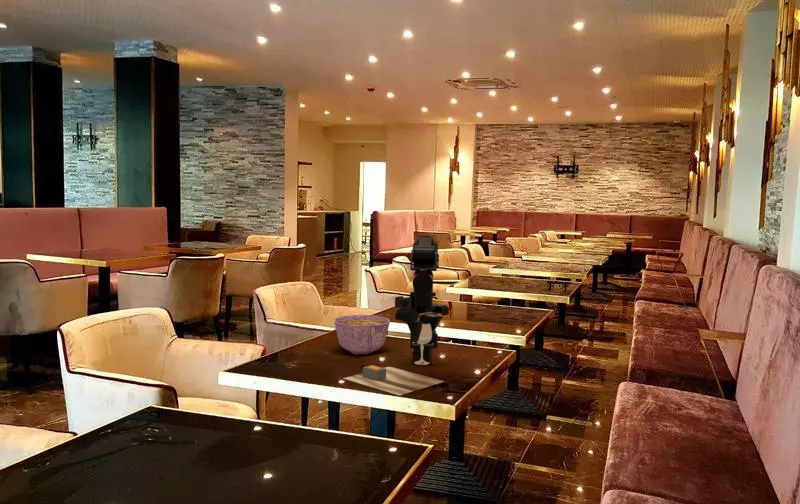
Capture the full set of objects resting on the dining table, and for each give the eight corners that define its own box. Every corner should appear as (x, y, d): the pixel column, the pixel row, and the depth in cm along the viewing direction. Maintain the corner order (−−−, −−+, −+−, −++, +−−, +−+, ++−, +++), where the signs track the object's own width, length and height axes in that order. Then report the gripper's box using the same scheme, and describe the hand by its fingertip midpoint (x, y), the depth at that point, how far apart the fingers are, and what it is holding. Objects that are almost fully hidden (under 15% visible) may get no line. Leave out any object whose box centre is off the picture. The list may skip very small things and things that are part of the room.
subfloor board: (388, 369, 211) (389, 366, 211) (444, 384, 196) (444, 381, 196) (343, 381, 197) (343, 378, 196) (399, 398, 181) (399, 395, 181)
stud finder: (372, 374, 201) (372, 364, 201) (386, 378, 197) (386, 368, 197) (362, 376, 198) (362, 366, 198) (376, 381, 194) (376, 370, 194)
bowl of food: (388, 359, 224) (389, 326, 223) (330, 358, 224) (330, 324, 223) (390, 346, 244) (390, 315, 243) (336, 344, 244) (337, 314, 243)
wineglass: (430, 365, 191) (431, 325, 190) (410, 364, 192) (411, 324, 191) (432, 361, 196) (433, 321, 196) (413, 360, 197) (414, 320, 196)
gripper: (422, 283, 205) (420, 332, 206) (381, 288, 191) (380, 341, 192) (450, 287, 197) (449, 338, 199) (410, 293, 183) (409, 347, 185)
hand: (422, 341), depth 194 cm, fingers closed on wineglass, 6 cm apart
